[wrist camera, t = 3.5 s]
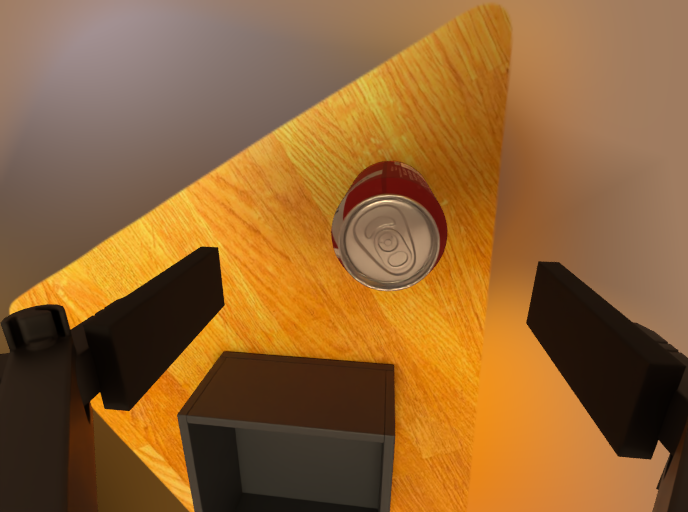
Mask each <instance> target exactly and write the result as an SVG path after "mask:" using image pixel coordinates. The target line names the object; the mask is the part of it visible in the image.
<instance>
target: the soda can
mask: <svg viewBox="0 0 688 512" xmlns="http://www.w3.org/2000/svg"><path fill="white" fill-rule="evenodd" d="M331 233H332V243H333V248H334V251H335V253H336V256H337V258H338V259H339V261H340V263H341V264H342V266H343V267H344V268H345V269H346V270H347V271H348V272H349V273H350V275H351V276H352V277H353V278H354V279H356V280H357V281H358V282H360V283H361V284H363V285H365V286H367V287H370V288H372V289H376V290H381V291H396V290H402V289H405V288H408V287H410V286H413V285H414V284H416V283H418V282H419V281H421V280H422V279H423V278H424V277H425V276H426V275H427V274H428V273H429V272H430V271H431V270H432V269H433V268H434V267H435V266H436V265H437V263H438V262H439V260H440V258H441V257H442V254H443V252H444V249H445V246H446V241H447V223H446V219H445V215H444V213H443V210H442V208H441V206H440V204H439V203H438V201H437V199H436V198H435V196H434V194H433V193H432V191H431V189H430V188H429V186H428V184H427V183H426V181H425V179H424V178H423V177H422V175H421V174H420V173H419V172H418V171H417V170H415V169H414V168H413V167H411V166H409V165H407V164H404V163H401V162H397V161H384V162H379V163H376V164H373V165H371V166H369V167H368V168H366V169H365V170H364V171H362V172H361V173H360V174H359V175H358V177H357V178H356V179H355V181H354V182H353V184H352V185H351V187H350V189H349V190H348V192H347V193H346V195H345V197H344V198H343V200H342V201H341V203H340V205H339V206H338V208H337V210H336V213H335V215H334V218H333V223H332V231H331Z"/></svg>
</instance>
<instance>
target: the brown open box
mask: <svg viewBox="0 0 688 512" xmlns="http://www.w3.org/2000/svg"><path fill="white" fill-rule="evenodd" d="M177 417H178V422H179V428H180V433H181V439H182V444H183V450H184V455H185V461H186V466H187V472H188V477H189V483H190V488H191V494H192V499H193V505H194V511H195V512H390V501H391V487H392V473H393V459H394V444H395V392H394V365H389V364H377V363H364V362H351V361H339V360H326V359H313V358H301V357H288V356H275V355H263V354H250V353H237V352H225V351H224V352H223V353H222V354H221V356H220V357H219V358H218V360H217V361H216V362H215V364H214V365H213V366H212V368H211V369H210V371H209V372H208V373H207V375H206V376H205V377H204V379H203V380H202V381H201V383H200V384H199V386H198V387H197V388H196V390H195V391H194V392H193V394H192V395H191V397H190V398H189V399H188V401H187V402H186V403H185V405H184V406H183V407H182V409H181V410H180V412H179V413H178V414H177Z"/></svg>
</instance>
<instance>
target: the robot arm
mask: <svg viewBox="0 0 688 512" xmlns="http://www.w3.org/2000/svg"><path fill="white" fill-rule="evenodd" d="M224 305H225V304H224V296H223V287H222V278H221V269H220V260H219V251H218V247H200V248H198V249H197V250H195V251H194V252H192V253H191V254H189V255H188V256H186V257H185V258H183V259H182V260H180V261H179V262H177V263H176V264H174V265H173V266H171V267H170V268H168V269H167V270H165V271H164V272H162V273H161V274H159V275H157V276H156V277H154V278H153V279H151V280H150V281H148V282H147V283H145V284H144V285H142V286H141V287H139V288H138V289H136V290H135V291H133V292H132V293H130V294H129V295H127V296H126V297H123V298H121V299H118V300H116V301H114V302H113V303H111V304H110V305H108V306H107V307H105V308H104V309H102V310H100V311H99V312H97V313H96V314H95V316H91V317H90V318H88V319H87V320H85V321H84V322H82V323H80V324H79V325H77V326H76V327H74V328H73V329H71V330H70V327H69V324H68V320H67V316H66V313H65V309H64V308H63V306H60V305H49V304H47V305H40V306H34V307H30V308H27V309H23V310H20V311H18V312H15V313H13V314H11V315H9V316H8V317H6V318H4V319H3V321H2V322H1V326H2V329H3V332H4V335H5V337H6V340H7V343H8V346H9V349H10V353H6V354H0V512H98V504H97V484H96V464H95V445H94V425H93V410H92V407H91V403H90V401H91V400H92V399H93V398H94V397H95V396H96V395H97V394H98V393H99V392H100V393H101V396H102V400H103V404H104V408H105V409H113V410H124V411H130V410H131V409H132V408H133V407H134V405H135V404H136V403H137V402H138V401H139V400H140V399H141V398H142V396H143V395H144V394H145V393H146V392H147V391H148V390H149V389H150V388H151V386H152V385H153V384H154V383H155V382H156V381H157V380H158V379H159V378H160V376H161V375H162V374H163V373H164V372H165V371H166V370H167V369H168V368H169V366H170V365H171V364H172V363H173V362H174V361H175V360H176V359H177V357H178V356H179V355H180V354H181V353H182V352H183V351H184V350H185V349H186V347H187V346H188V345H189V344H190V343H191V342H192V341H193V340H194V339H195V337H196V336H197V335H198V334H199V333H200V332H201V331H202V330H203V329H204V327H205V326H206V325H207V324H208V323H209V322H210V321H211V320H212V318H213V317H214V316H215V315H216V314H217V313H218V312H219V311H220V310H221V308H222V307H223V306H224ZM526 323H527V325H528V326H529V328H530V329H531V330H532V332H533V334H534V335H535V337H536V338H537V339H538V341H539V342H540V344H541V345H542V347H543V348H544V349H545V351H546V352H547V354H548V355H549V357H550V358H551V360H552V361H553V363H554V364H555V366H556V367H557V368H558V370H559V371H560V373H561V374H562V376H563V377H564V379H565V380H566V381H567V383H568V384H569V386H570V387H571V389H572V390H573V392H574V393H575V395H576V396H577V397H578V399H579V400H580V402H581V403H582V405H583V406H584V407H585V409H586V410H587V412H588V413H589V415H590V416H591V418H592V419H593V420H594V422H595V423H596V425H597V426H598V428H599V429H600V431H601V432H602V434H603V435H604V436H605V438H606V440H607V441H608V442H609V444H610V445H611V447H612V448H613V450H614V451H615V453H616V454H617V455H618V456H619V457H630V458H640V459H641V458H642V459H651V458H652V456H653V453H654V450H655V448H656V445H657V442H658V440H659V441H660V442H661V443H662V444H663V445H664V447H665V448H666V449H667V450H668V451H669V452H670V455H669V458H668V460H667V463H666V465H665V468H664V470H663V473H662V475H661V478H660V480H659V483H658V486H657V488H656V489H658V494H657V497H656V501H655V505H654V508H653V512H688V358H687V357H686V356H685V355H683V354H682V353H679V352H678V350H677V349H676V348H674V347H673V346H672V345H671V344H668V342H667V341H666V340H664V339H663V338H662V337H660V336H659V335H658V334H657V333H655V332H654V331H652V330H650V329H648V328H646V327H644V326H642V325H640V324H638V323H633V322H631V321H630V320H629V319H628V318H626V317H625V316H624V315H623V314H622V313H620V312H619V311H618V310H617V309H615V308H614V307H613V306H612V305H610V304H609V303H608V302H607V301H606V300H604V299H603V298H602V297H601V296H600V295H598V294H597V293H596V292H595V291H593V290H592V289H591V288H590V287H588V286H587V285H586V284H585V283H584V282H582V281H581V280H580V279H579V278H577V277H576V276H575V275H574V274H573V273H571V272H570V271H569V270H568V269H566V268H565V267H564V266H563V265H561V264H560V263H559V262H538V266H537V272H536V276H535V282H534V287H533V292H532V297H531V302H530V307H529V312H528V317H527V322H526Z"/></svg>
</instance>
